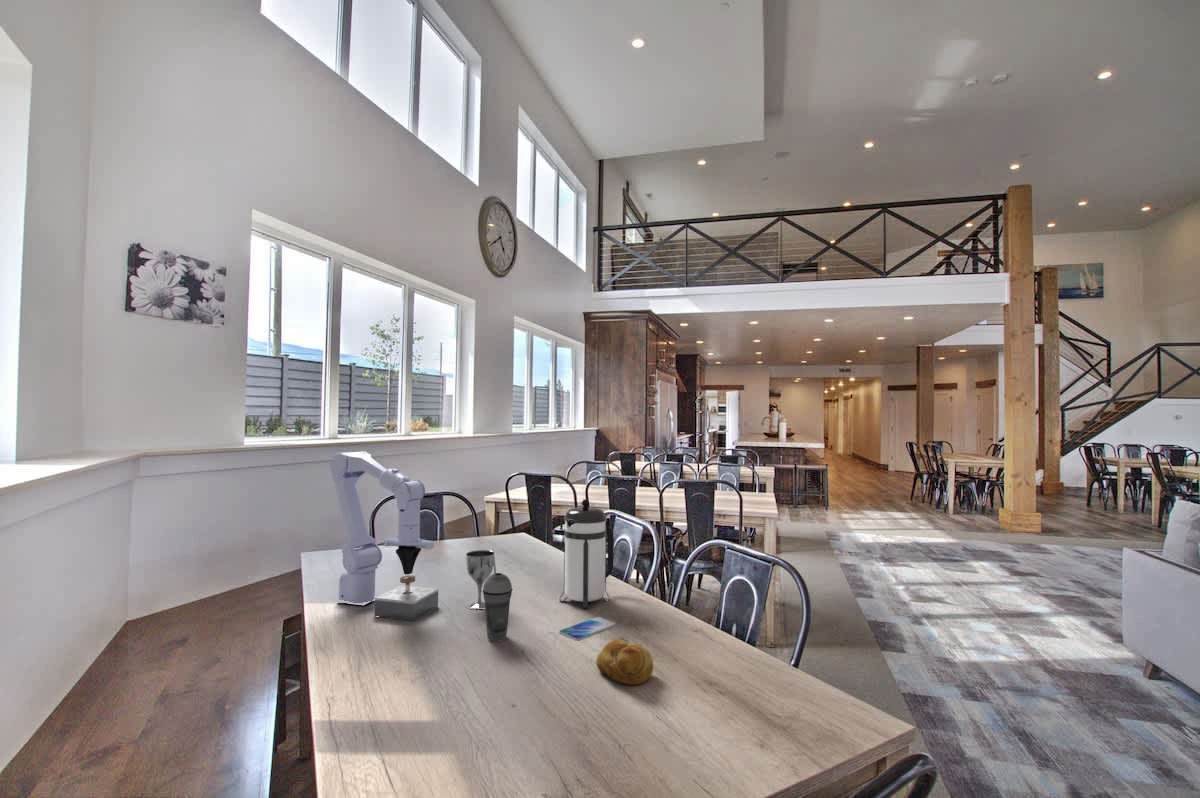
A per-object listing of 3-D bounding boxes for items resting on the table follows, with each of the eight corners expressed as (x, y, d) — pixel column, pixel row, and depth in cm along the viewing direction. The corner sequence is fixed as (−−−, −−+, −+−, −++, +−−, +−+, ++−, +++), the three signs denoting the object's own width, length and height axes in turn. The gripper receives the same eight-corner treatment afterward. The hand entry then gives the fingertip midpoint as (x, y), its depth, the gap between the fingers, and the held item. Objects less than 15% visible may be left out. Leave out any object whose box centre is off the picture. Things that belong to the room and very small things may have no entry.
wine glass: (496, 602, 163) (497, 550, 163) (488, 611, 155) (489, 557, 156) (470, 601, 164) (471, 549, 164) (461, 610, 156) (462, 556, 156)
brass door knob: (381, 602, 151) (381, 580, 151) (402, 591, 160) (403, 571, 160) (412, 605, 148) (412, 583, 149) (432, 594, 158) (432, 574, 158)
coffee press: (613, 610, 157) (614, 503, 158) (557, 609, 157) (558, 502, 158) (613, 591, 174) (613, 495, 175) (562, 590, 174) (563, 494, 176)
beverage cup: (505, 644, 132) (506, 560, 133) (476, 642, 133) (478, 558, 134) (516, 633, 139) (517, 552, 140) (488, 631, 140) (490, 551, 141)
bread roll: (586, 673, 118) (586, 634, 118) (617, 659, 125) (618, 623, 125) (631, 694, 109) (631, 653, 109) (662, 678, 115) (662, 639, 116)
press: (374, 616, 150) (374, 597, 150) (406, 600, 164) (406, 582, 164) (413, 621, 147) (413, 601, 147) (442, 604, 161) (442, 586, 161)
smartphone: (618, 623, 145) (577, 639, 135) (618, 626, 145) (577, 643, 135) (598, 615, 150) (557, 630, 140) (598, 619, 150) (557, 634, 140)
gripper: (439, 523, 157) (439, 571, 157) (395, 520, 161) (394, 567, 161) (425, 527, 151) (425, 578, 150) (379, 524, 154) (378, 574, 154)
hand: (408, 573), depth 155 cm, fingers closed
